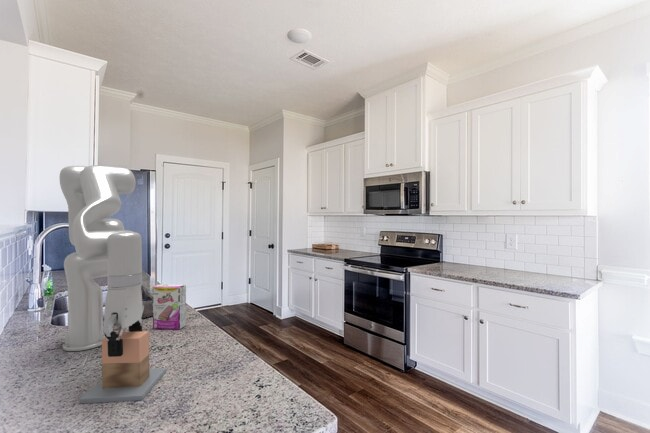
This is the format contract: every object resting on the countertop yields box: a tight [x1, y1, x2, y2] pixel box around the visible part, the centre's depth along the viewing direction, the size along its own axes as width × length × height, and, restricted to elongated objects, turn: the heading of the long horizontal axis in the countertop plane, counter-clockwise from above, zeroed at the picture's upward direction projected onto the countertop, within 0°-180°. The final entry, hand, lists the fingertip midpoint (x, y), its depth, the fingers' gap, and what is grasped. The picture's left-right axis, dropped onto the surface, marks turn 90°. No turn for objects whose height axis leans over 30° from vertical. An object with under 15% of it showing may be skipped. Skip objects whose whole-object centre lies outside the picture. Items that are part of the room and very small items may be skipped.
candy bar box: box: [152, 283, 187, 331], centre depth 127 cm, size 11×5×16 cm, turn 84°
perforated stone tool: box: [142, 299, 153, 319], centre depth 142 cm, size 15×5×7 cm, turn 141°
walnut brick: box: [101, 354, 150, 388], centre depth 84 cm, size 9×5×6 cm, turn 95°
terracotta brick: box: [101, 330, 150, 365], centre depth 84 cm, size 9×5×6 cm, turn 93°
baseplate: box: [78, 367, 167, 404], centre depth 84 cm, size 14×14×1 cm
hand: (126, 347), depth 83 cm, fingers open, 9 cm apart
